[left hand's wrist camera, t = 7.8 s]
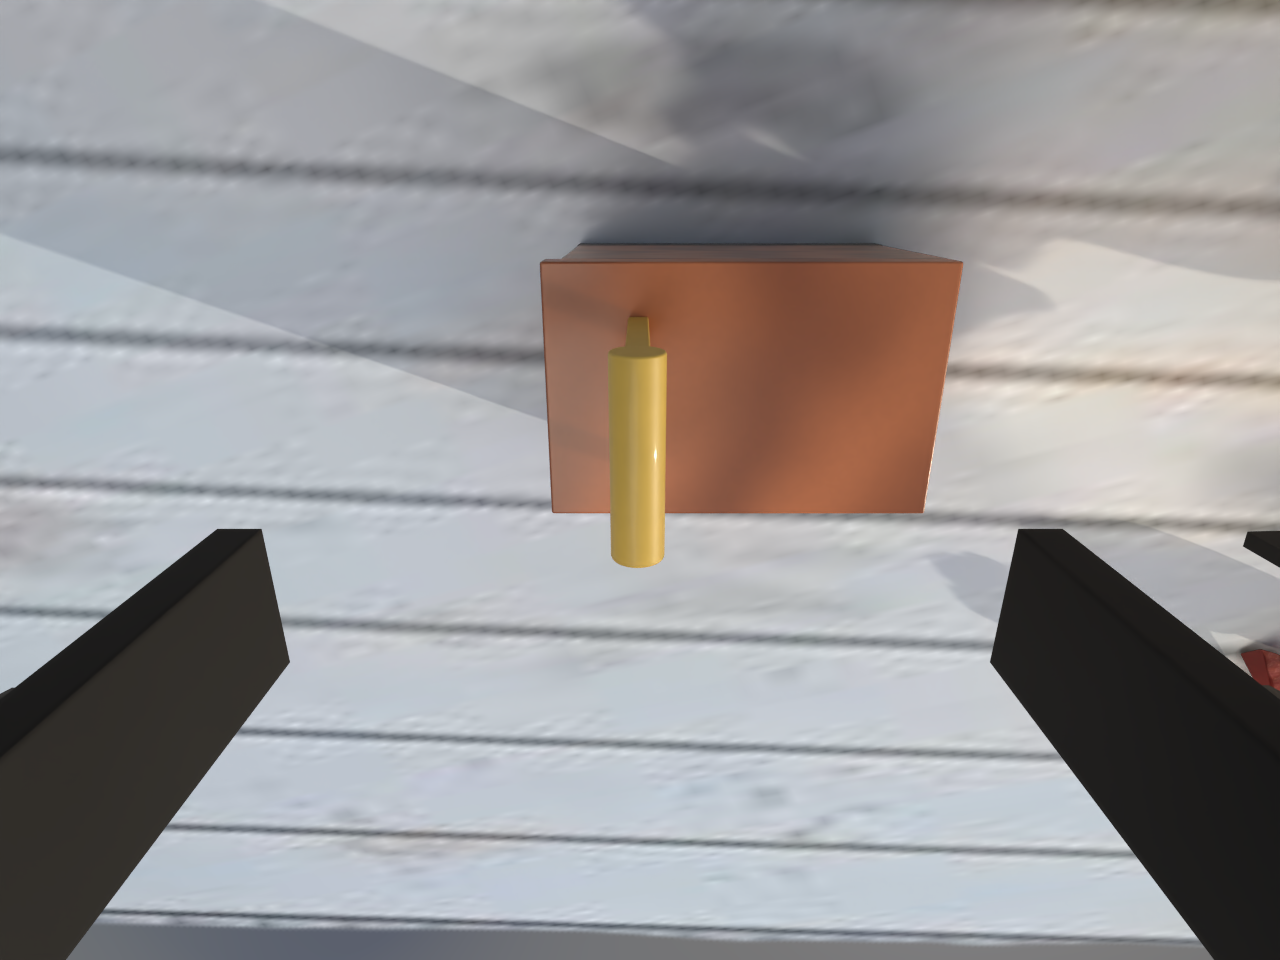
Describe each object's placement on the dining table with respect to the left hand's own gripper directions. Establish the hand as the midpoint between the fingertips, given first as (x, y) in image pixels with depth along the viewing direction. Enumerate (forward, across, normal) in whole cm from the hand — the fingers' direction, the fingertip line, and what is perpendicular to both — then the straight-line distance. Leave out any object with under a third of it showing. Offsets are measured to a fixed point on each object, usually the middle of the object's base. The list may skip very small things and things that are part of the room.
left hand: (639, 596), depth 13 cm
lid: (+15, +4, 0) cm, 15 cm away
